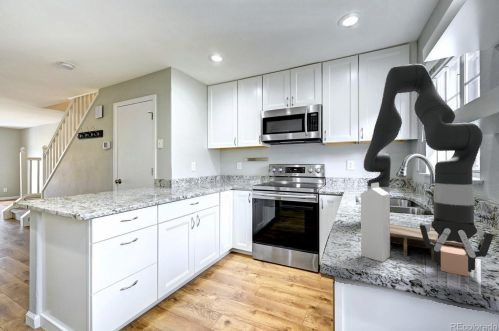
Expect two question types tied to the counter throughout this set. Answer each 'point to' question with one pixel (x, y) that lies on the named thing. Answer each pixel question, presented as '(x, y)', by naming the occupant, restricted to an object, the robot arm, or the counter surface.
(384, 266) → the counter surface
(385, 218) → the milk
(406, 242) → the wooden bench
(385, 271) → the counter surface
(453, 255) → the block
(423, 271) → the counter surface
